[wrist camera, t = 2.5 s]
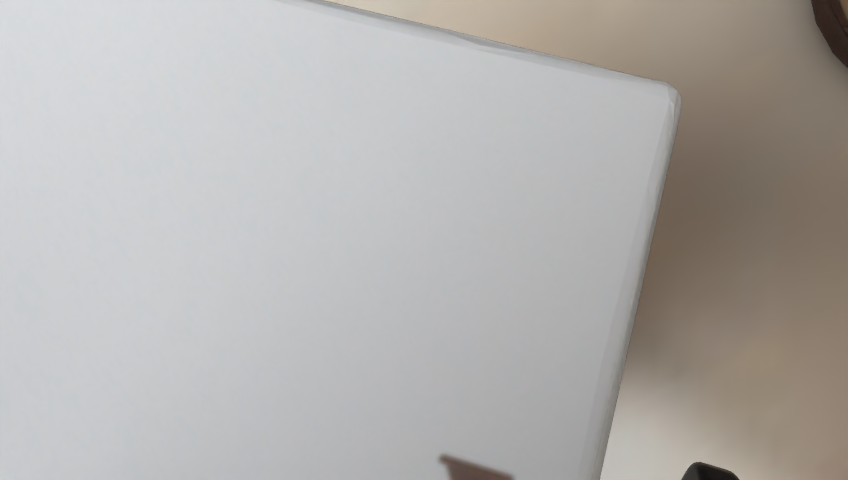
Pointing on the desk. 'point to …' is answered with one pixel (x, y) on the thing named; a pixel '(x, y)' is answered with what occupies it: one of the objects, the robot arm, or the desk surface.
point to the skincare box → (312, 245)
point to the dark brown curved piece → (833, 25)
